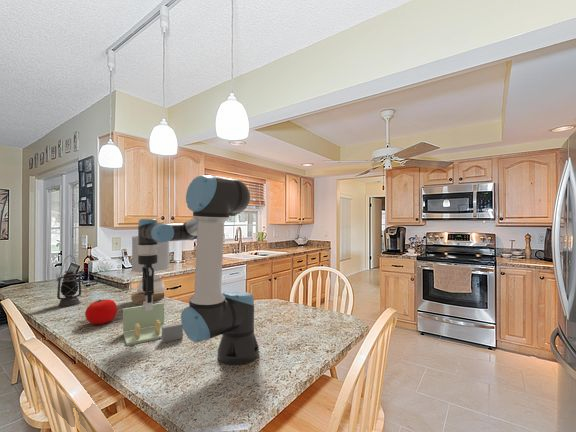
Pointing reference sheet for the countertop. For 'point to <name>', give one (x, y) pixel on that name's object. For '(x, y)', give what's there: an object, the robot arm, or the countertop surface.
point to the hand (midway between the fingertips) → (147, 308)
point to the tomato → (101, 311)
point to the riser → (172, 332)
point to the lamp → (160, 265)
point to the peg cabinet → (143, 323)
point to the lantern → (69, 288)
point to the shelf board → (140, 296)
